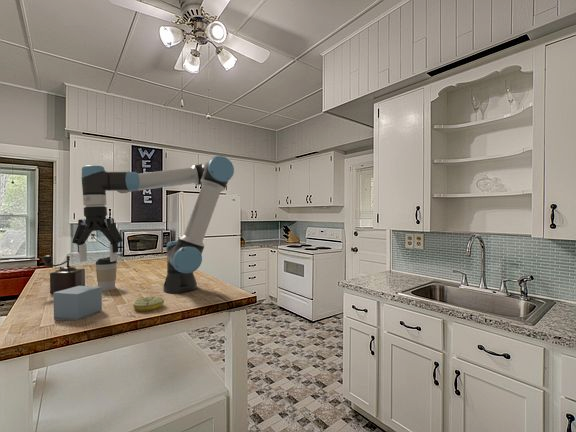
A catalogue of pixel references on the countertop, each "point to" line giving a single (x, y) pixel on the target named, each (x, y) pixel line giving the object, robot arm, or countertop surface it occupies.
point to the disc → (75, 319)
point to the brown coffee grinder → (64, 275)
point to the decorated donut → (148, 304)
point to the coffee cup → (106, 273)
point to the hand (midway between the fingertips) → (98, 261)
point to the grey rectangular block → (77, 301)
